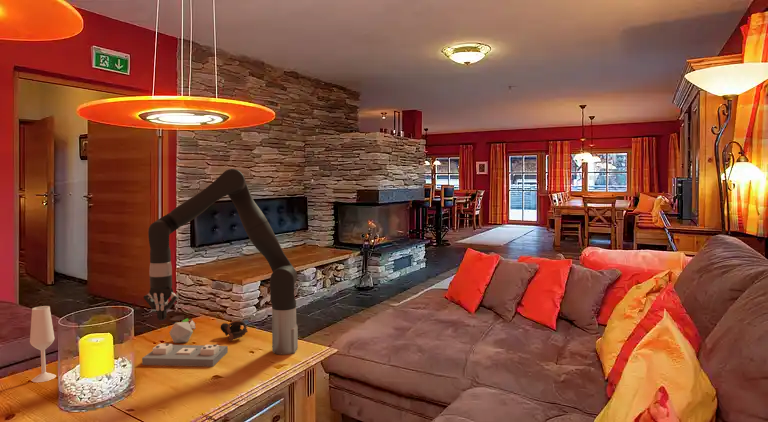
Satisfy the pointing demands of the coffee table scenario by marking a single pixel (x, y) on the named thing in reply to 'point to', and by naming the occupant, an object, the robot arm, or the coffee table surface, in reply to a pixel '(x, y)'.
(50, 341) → the champagne flute
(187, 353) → the one pip tile
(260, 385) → the coffee table surface
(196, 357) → the button board
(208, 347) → the three pip tile
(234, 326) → the pottery mug
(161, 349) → the two pip tile
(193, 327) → the geometric puzzle
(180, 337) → the die
